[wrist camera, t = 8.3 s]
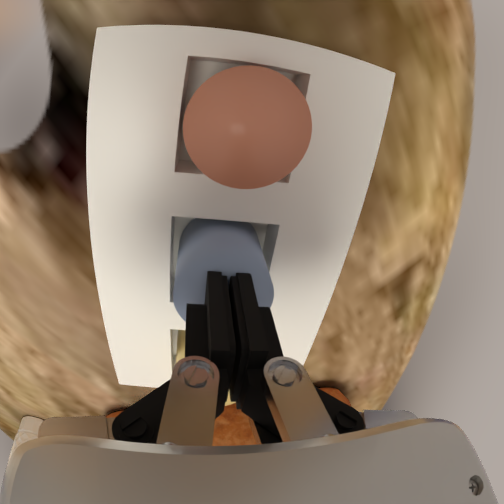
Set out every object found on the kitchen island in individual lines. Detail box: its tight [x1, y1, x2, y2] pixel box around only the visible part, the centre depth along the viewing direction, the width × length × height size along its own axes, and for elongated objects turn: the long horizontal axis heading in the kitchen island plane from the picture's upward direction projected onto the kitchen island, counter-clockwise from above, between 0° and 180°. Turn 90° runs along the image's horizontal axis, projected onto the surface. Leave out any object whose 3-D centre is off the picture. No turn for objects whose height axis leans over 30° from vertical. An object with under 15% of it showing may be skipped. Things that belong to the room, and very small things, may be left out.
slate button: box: [173, 218, 274, 322], centre depth 14 cm, size 4×4×4 cm
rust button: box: [183, 65, 312, 189], centre depth 10 cm, size 4×4×4 cm
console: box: [86, 25, 395, 388], centre depth 15 cm, size 20×12×4 cm, turn 171°
